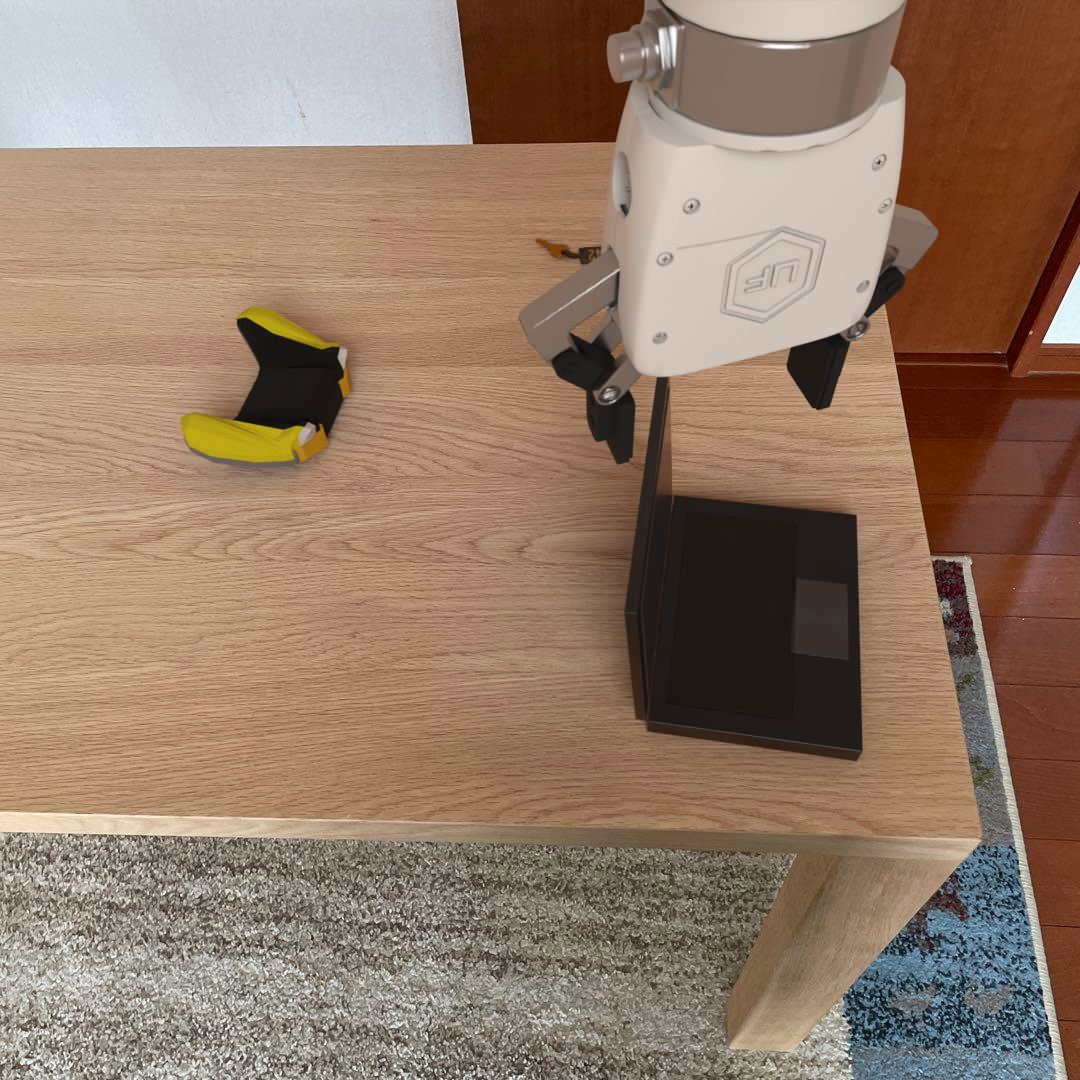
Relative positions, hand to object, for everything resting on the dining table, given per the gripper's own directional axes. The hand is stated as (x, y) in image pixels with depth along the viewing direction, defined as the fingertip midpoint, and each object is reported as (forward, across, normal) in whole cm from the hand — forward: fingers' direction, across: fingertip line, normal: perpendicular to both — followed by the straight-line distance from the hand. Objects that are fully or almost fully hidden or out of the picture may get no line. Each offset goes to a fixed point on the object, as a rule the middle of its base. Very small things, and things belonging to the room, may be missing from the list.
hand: (711, 414), depth 43 cm
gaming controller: (+24, -22, +30) cm, 44 cm away
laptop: (+23, +6, 0) cm, 24 cm away
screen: (+15, 0, +4) cm, 16 cm away
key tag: (+23, +7, +42) cm, 49 cm away
